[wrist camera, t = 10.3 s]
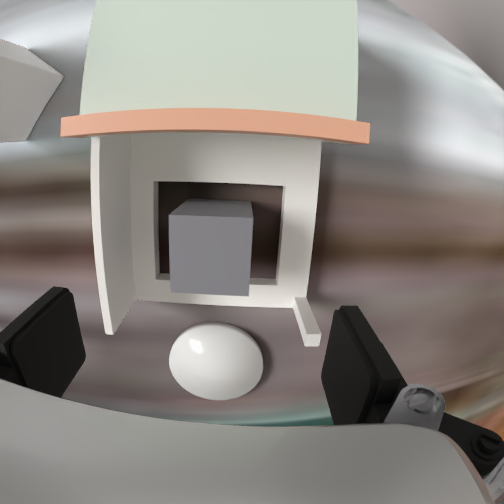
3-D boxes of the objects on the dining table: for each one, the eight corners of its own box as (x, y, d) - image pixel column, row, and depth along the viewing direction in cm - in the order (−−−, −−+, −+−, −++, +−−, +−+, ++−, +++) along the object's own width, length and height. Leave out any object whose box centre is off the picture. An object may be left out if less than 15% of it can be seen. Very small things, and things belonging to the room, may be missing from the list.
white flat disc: (259, 395, 31) (259, 401, 30) (174, 390, 31) (173, 396, 30) (266, 323, 29) (266, 329, 28) (167, 318, 28) (165, 324, 27)
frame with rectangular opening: (301, 300, 28) (319, 346, 21) (134, 292, 27) (105, 333, 20) (321, 26, 21) (347, -11, 14) (142, 22, 20) (111, -14, 13)
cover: (346, 144, 17) (369, 143, 14) (89, 137, 16) (60, 136, 13) (348, -16, 14) (366, -41, 10) (111, -18, 13) (91, -41, 10)
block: (247, 260, 27) (248, 296, 20) (188, 257, 27) (170, 292, 20) (250, 200, 25) (253, 218, 19) (188, 198, 25) (168, 214, 18)
